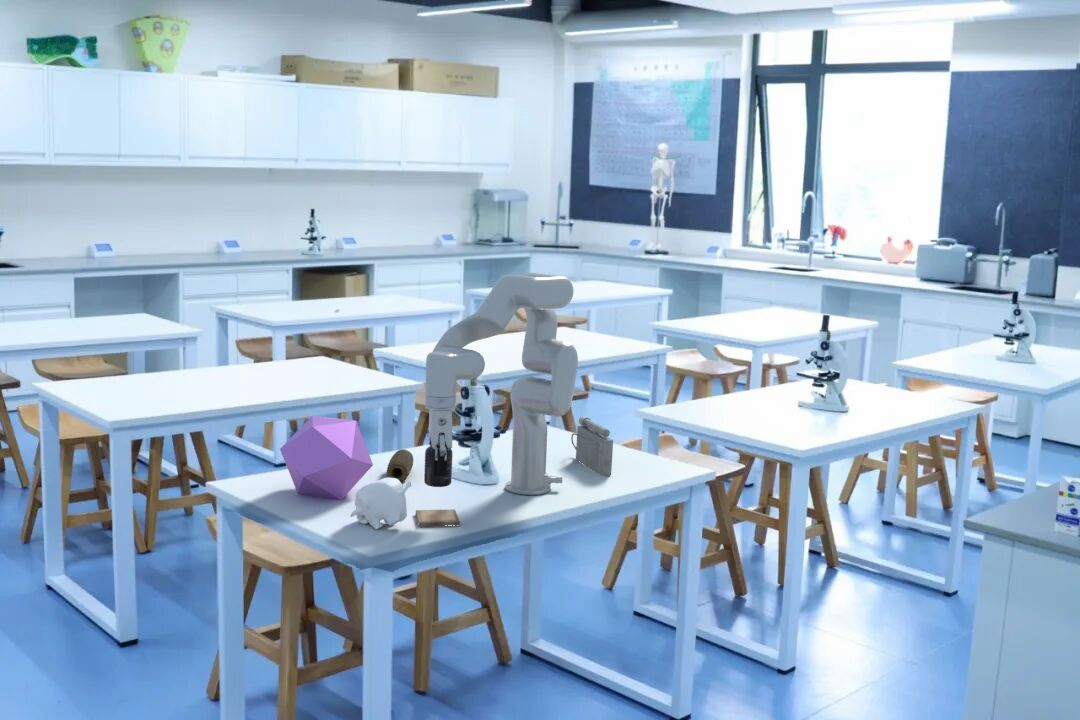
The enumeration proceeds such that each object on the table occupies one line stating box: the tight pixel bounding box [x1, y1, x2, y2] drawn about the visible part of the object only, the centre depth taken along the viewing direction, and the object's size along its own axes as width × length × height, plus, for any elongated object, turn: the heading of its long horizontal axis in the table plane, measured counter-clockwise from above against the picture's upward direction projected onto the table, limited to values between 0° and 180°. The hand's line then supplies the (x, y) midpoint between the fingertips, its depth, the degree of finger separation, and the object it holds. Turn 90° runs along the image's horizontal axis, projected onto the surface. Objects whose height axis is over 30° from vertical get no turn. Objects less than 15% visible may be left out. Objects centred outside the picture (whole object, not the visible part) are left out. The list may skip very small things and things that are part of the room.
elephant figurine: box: [349, 477, 412, 530], centre depth 281 cm, size 12×18×12 cm
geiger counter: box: [570, 415, 614, 477], centre depth 345 cm, size 14×6×25 cm
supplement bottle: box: [423, 439, 453, 488], centre depth 285 cm, size 7×7×12 cm
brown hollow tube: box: [386, 448, 414, 482], centre depth 326 cm, size 15×7×7 cm, turn 4°
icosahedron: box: [279, 415, 374, 501], centre depth 306 cm, size 22×21×25 cm
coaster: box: [415, 508, 461, 528], centre depth 288 cm, size 10×10×1 cm
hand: (438, 471), depth 285 cm, fingers closed on supplement bottle, 6 cm apart
